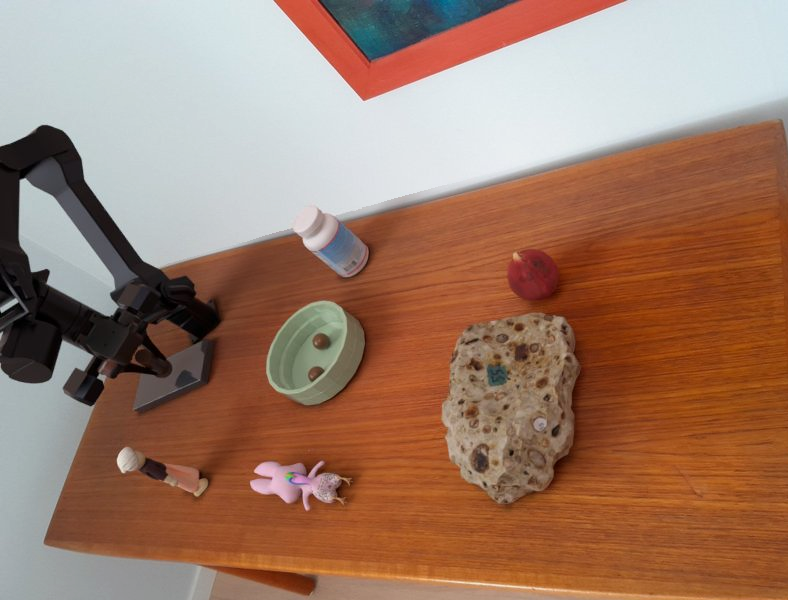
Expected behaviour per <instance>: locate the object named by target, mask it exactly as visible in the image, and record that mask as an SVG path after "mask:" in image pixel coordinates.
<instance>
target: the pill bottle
mask: <svg viewBox="0 0 788 600" xmlns="http://www.w3.org/2000/svg"><path fill="white" fill-rule="evenodd" d="M292 230H293V232H294V233H296V234H297V236H299V237H301V238H302V243H303V246H305V248H306V249H308V250H309V251H310V252H311V253H312V254H313V255H315V257H317V258H318V259H319V260H321V261H322V262H323V263H324V264H326V266H328V267H329V268H330V269H332V270H333V271H334V272H335V273H336V274H338V275H339V276H340V277H343V278H351V277H353V276H355V275H357V274H358V273H359V272H361V271H362V270H363V269H364V268H365V266H366V264H367V262H368V259H369V254H370V253H369V247H368V246H367V245H366V244H365V242H363V241H362V240H361V239H360V238H359V237H358V236H357V235H356V234H354V233H353V232H352V231H351V230H350V229H349V228H348V227H347V226H346V225H345V224H344V223H343V222H341V220H339V219H338V218H337V217H336V216H335V215H333V214H331V213H328V212H323V211H322V210H321V209H320V208H319V207H318V206H316V205H313V204H311V205H307V206H305V207H304V208H302V209H301V210H300V211H299V212H298V213H297V215H296V216H295V218H294V219H293V222H292Z"/></svg>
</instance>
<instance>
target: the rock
mask: <svg viewBox="0 0 788 600" xmlns="http://www.w3.org/2000/svg"><path fill="white" fill-rule="evenodd" d="M575 337H576V335H575V333H574V330H573V327H572V326H571V324H569V323H568V321H567V319H566V318H565V317H564V316H557V315H555V314H552V315H549V314H546V313H545V312H530V313H526V314H522V315H516V316H509V317H505V318H501V319H497V320H491V321H482V322H479V323H472V324H470V325H468V326H467V327H466V328H465V329H464V330H463V331H462V332H461V334H460V335H459V337H458V339H457V341H456V342H455V348H454V350H453V352H452V354H451V357H450V361H449V373H450V374H449V377H448V378H449V384H448V391H447V395H446V398H445V400H444V401H443V402H442V404H441V419H440V420H441V422H442V423H443V425H444V426H445V428H446V430H447V431H446V434H445V435H444V439H445V440H446V445H447V451H448V458H449V461H450V462H451V465H457V466H458V468H459V470H460V478H461V479H462V480H465V481H466V482H467V483H468V484H474V485H475V486H478V487H479V488H481V489H482V490H484V491H485V492H486V493H487V495H488V496H489V497H490V498H491V499H492V500H494V501H495V502H496V503H498V504H499V505H501V506H502V505H508V504H509V505H510V504H511V503H514V502H516V501H517V500H519V499H521V498H522V497H525V496H526V495H530V494H532V493H533V492H534V491H536V492H542V491H544V490H545V489H547V488H548V487H549V485H550V484H551V482H552V481H553V479H554V475H555V470H554V466H555V464H556V462H557V461H559V460H560V459H562V458H563V457H565V456H567V455H568V454H569V453H570V449H571V448H572V447H573V445H574V436H575V413H574V411H573V410H572V404H573V390H574V387H575V384H576V381H577V378H578V377H579V375H580V372H581V368H582V366H581V365H580V362H579V360H578V359H577V358H576V355H575V349H576V343H577V341H576V338H575Z"/></svg>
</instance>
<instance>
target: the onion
mask: <svg viewBox="0 0 788 600" xmlns="http://www.w3.org/2000/svg"><path fill="white" fill-rule="evenodd" d="M506 272H507V273H506V278H507V283H508V285H509V288H510V290H511V292H512V293H514V294H515V295H516V296H517V297H519V298H520V299H522V300H525V301H530V302H536V301H537V302H538V301H542V300H544V299H547V298H548V297H549V296H550V295H551V294H552V293H554V291H555V290H556V288H557V286H558V285H559V277H560V276H559V274H560V271H559V268H558V266H557V264H556V262H555V260H554V259H553V257H551V255H549V254H547V253H546V252H544V250H541V249H536V248H527V249H523V250H521V251H518V250H515V251H514V252H513V253H512V258H511V260H510V261H509V263H508V266H507V271H506Z"/></svg>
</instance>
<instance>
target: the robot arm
mask: <svg viewBox="0 0 788 600" xmlns="http://www.w3.org/2000/svg"><path fill="white" fill-rule="evenodd" d="M83 166H84V165H83V158H82V156H81V155H80V153H79V152H78V149H77V148H76V146H75V144H74V142H73V141H72V138H71V137H70V136H69V135H68V134H67V133H66V132H65V131H64V130H63V129H60V128H58V127H54V126H52V125H49V124H41V125H39V126H37V127H36V128H35V129H34V130H32V131H30V133H28V134H27V135H26V136H23V137H21V138H19V139H17V140H15V141H12V142H10V143H7V144H4V145H3V144H2V145H0V309H1V308H3V307H4V306H6V305H8V304H9V303H10V302H12V301H14V300H17V302H16V303H15V304H13V305H11V306H10V307H8V308H6V309H5V310H4V311H1V310H0V334H1V337H0V369H1V371H2V372H3V374H5V375H6V376H8V378H9V379H11V380H13V381H16V382H19V383H24V384H32V385H34V384H37V385H38V384H43V383H46V382H49V381H50V380H51V379H52V378H53V374H54V372H55V368H56V364H57V361H58V357H59V354H60V351H61V347H62V343H63V342H65V343H67V344H69V345H70V346H73V347H75V348H77V349H79V350H82V351H83V352H86V353H87V354H89V355H91V356H92V358H91V359H90V360H89V362H88V364H87V365H86V367H85V369H84V370H83V369H80V368H78V367H74V369H73V370H72V372H71V374H70V375H69V376H68V378H67V380H66V381H65V383H64V385H63V386H62V391H63V394H64V395H66V396H68V397H69V398H71V399H73V400H75V401H77V402H79V403H81V404H83V405H86V406H88V407H93V406H94V405H96V403H97V401H98V399H99V398H100V396H102V393H103V391H104V390H105V384H104V381H103V380H102V379H100V378H99V376H100V375H101V376H105V377H107V378H109V379H111V380H115V379H116V378H117V377H118V376H119V375H121V374H126V373H127V374H128V373H129V374H130V373H131V374H132V373H134V374H140V375H141V374H149V375H157V374H158V373H157V372H155V371H153V370H151V369H149V368H146V367H145V366H143V365H141V364H139V363H135V362H132V360H133V358H134V356H135V354H136V352H137V351H138V348H139V347H141V349H146V350H148V351H149V352H151V353H152V354H154V355H155V356H157V357H158V358H160V359H162V360H164V361H166V359H167V358H168V357H166V356H165V355H164V354H163V353H162V351H161V350H160V349H159V348H158V347H157V345H156V344H154V342H153V341H152V339H151V338H150V336H149V334H148V332H147V329H148V327H149V325H154V326H156V325H158V324H160V323H162V322H163V321H165V320H166V321H168V322H170V323H171V324H173V325H174V326H177V327H178V328H180V329H182V331H185V332H186V333H188V336H189V341H190V344H191V345H192V346H193V345H195V344H197V343H199V342H200V340H201V339H203V338H204V337H205V336H206V335H207V334H208V333H210V332H211V330H212V329H214V328H215V327H216V326H217V325H218V324H219V323H220V321H221V320H220V315H219V311H218V308H217V304H216V300H215V299H213V298H211V299H210V300H208V301H207V302H206V303H205V302H204V301H202V300H201V299H200V298H197V291H196V290H195V283H194V282H193V281H192V280H191V279H190V278H189V277H188V276H187V275H182V276H179V277H174V278H171V279H170V277H169V276H168V275H166V273H165V272H164V271H163V270H161V269H160V268H158V267H155V265H152V264H150V263H148V262H146V261H144V260H143V259H142V258H141V256H140V255H139V253H138V252H137V251H136V250H135V248H134V247H133V245H132V244H131V242H130V241H129V240H128V238H127V237H126V236H125V234H124V233H123V231H122V230H121V229H120V227H119V226H118V224H117V223H116V222H115V221H114V219H113V217H112V216H111V214H110V213H109V212H108V211H107V209H106V208H105V207H104V205H103V204H102V202H101V201H100V200H99V198H98V197H97V195H96V193H94V191H93V190H92V189H91V187H90V186H89V184H88V183H87V181H86V179H85V174H84V167H83ZM24 179H25V180H27V181H28V183H29V184H30V185H31V186H32V187H34V188H36V189H38V190H40V191H42V192H44V193H46V194H48V195H50V196H52V197H53V198H54V199H55V200H56V202H57V204H59V206H60V207H61V208H62V210H63V211H64V213H65V214H66V216H67V217H68V218H69V219H70V220H71V222H72V224H73V225H74V226H75V227H76V229H77V230H78V231H79V233H80V234H81V235H82V236H83V238H84V239H85V241H86V242H87V243H88V245H89V246H90V248H91V249H92V250H93V251H94V253H95V254H96V256H97V257H98V258H99V260H100V261H101V262H102V264H103V265H104V266H105V268H106V270H107V271H108V272H109V274H110V275H111V276H112V278H113V282H114V290H112V291H110V292H109V297H110V299H111V300H112V302H114V303H115V304H116V305H117V307H116V310H114V312H113V314H110V315H107V314H106V315H105V314H104V313H102V312H100V311H98V310H96V309H95V308H92V307H91V306H89V305H87V304H85V303H83V302H81V301H79V300H77V299H75V298H74V297H72V296H70V295H68V294H66V293H65V292H63V291H62V290H61V291H60V290H59V289H57V288H56V287H53V286H52V285H50V284H48V280H49V276H50V274H51V271H50V269H48V268H43V269H41V270H37V271H32V269H31V264H30V263H31V262H30V258H29V256H28V254H27V252H25V250H24V249H23V248H22V246H21V241H20V207H21V206H20V205H21V204H20V198H21V196H20V195H21V193H20V192H21V181H22V180H24Z"/></svg>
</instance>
